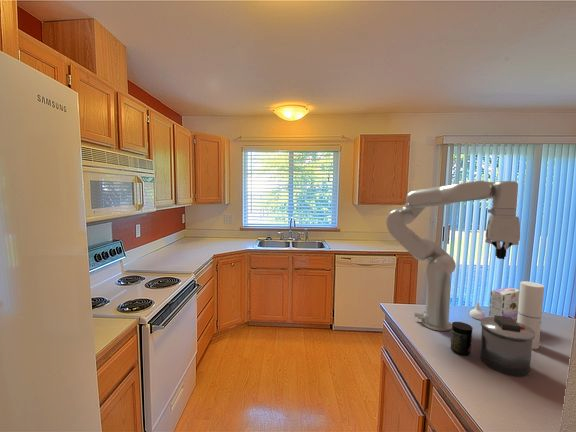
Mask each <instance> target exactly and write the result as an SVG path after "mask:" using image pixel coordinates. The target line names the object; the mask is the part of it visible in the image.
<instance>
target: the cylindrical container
mask: <svg viewBox="0 0 576 432" xmlns="http://www.w3.org/2000/svg"><path fill="white" fill-rule="evenodd" d="M519 290H520V293H519V305H518V317H517V322H518V323H521V324H524V325H526V326H528V327H530V328H531V329H532V330H534V332H535V337H534V339H532V350H537V349H539V348H540V338H541V329H542V328H541V327H542V318H543V316H542V315H543V306H544V305H543V303H544V295H545V294H544V293H545V285H544V284H542V283H538V282H533V281H527V280H526V281H525V280H524V281H520V283H519Z"/></svg>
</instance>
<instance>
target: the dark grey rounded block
mask: <svg viewBox="0 0 576 432" xmlns="http://www.w3.org/2000/svg"><path fill="white" fill-rule="evenodd" d="M480 337H481V338H480V347H479V348H480V351H479V358H480V361H481V362H482V363H483V364H484V365H485V366H487V367H488V368H490V369H491V370H494V371H495V372H498V373H499V374H504V375H506V376H511V377H514V378H515V377H517V378H524V377H527V376H529V375H530V372H531V362H532V350H533V349H532V339H531V340H518V339H512V338H507V337H503V336H500V335H497V334H494V333H492V332H490V331H488V330H486V329H485V328H483V327H482V326H481V336H480Z"/></svg>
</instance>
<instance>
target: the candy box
mask: <svg viewBox="0 0 576 432" xmlns="http://www.w3.org/2000/svg"><path fill="white" fill-rule="evenodd" d="M519 293H520V288H519V289H518V288H515V287H511V286H509V287H504V288H499V289H493V290H490V301H489V303H490V304H489V305H490V306H489V314H488V317H494V315H497V316H505V317H511V318H512V319H513V320H514V321H515V322H517V317H518V305H519Z"/></svg>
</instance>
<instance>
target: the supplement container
mask: <svg viewBox="0 0 576 432" xmlns="http://www.w3.org/2000/svg"><path fill="white" fill-rule="evenodd" d="M451 324H452V329H451V334H450V335H451V336H450V350H451V351H452V352H453V354H456V355H458V356H462V357H468V356H470V355H471V354H472V343H473V341H472V340H473V326H472V325H471V324H468V323H466V322H461V321H454V322H451Z"/></svg>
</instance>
